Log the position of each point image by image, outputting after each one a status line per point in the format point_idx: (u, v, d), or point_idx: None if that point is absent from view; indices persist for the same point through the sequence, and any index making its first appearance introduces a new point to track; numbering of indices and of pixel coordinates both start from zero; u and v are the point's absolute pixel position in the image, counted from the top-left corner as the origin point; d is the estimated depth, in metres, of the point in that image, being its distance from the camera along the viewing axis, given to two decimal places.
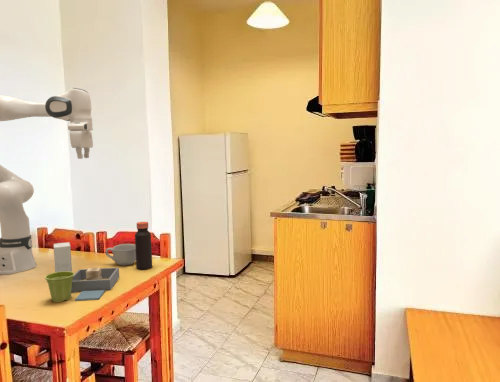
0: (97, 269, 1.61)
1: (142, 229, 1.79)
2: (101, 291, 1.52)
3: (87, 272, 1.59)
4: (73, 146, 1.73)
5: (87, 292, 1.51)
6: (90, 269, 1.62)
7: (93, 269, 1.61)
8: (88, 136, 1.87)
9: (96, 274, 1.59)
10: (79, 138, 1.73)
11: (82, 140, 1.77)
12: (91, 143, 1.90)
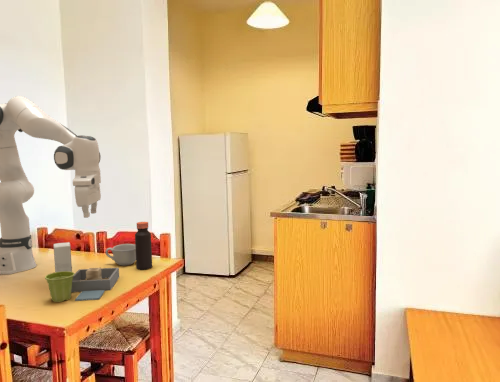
0: (97, 269, 1.61)
1: (142, 229, 1.79)
2: (101, 291, 1.52)
3: (87, 272, 1.59)
4: (79, 205, 1.49)
5: (87, 292, 1.51)
6: (90, 269, 1.62)
7: (93, 269, 1.61)
8: (95, 188, 1.62)
9: (96, 274, 1.59)
10: (86, 196, 1.49)
11: (89, 197, 1.52)
12: (99, 195, 1.66)
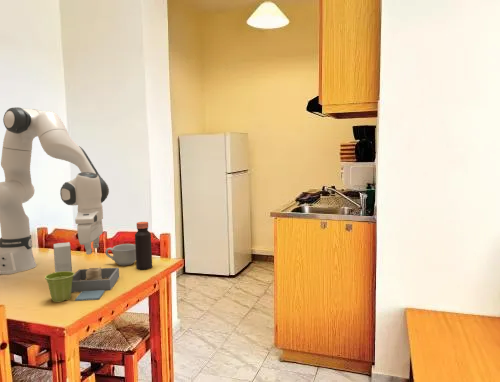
0: (97, 269, 1.61)
1: (142, 229, 1.79)
2: (101, 291, 1.52)
3: (87, 272, 1.59)
4: (82, 243, 1.50)
5: (87, 292, 1.51)
6: (90, 269, 1.62)
7: (93, 269, 1.61)
8: (98, 224, 1.64)
9: (96, 274, 1.59)
10: (88, 234, 1.50)
11: (91, 234, 1.54)
12: (101, 230, 1.67)
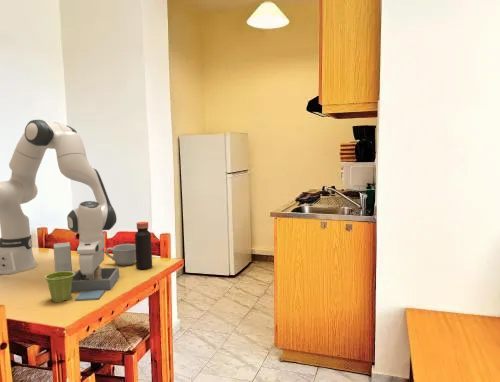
0: (97, 269, 1.61)
1: (142, 229, 1.79)
2: (101, 291, 1.52)
3: None
4: (83, 274, 1.52)
5: (87, 292, 1.51)
6: None
7: None
8: None
9: (96, 274, 1.60)
10: (90, 264, 1.51)
11: (93, 263, 1.55)
12: (102, 257, 1.69)
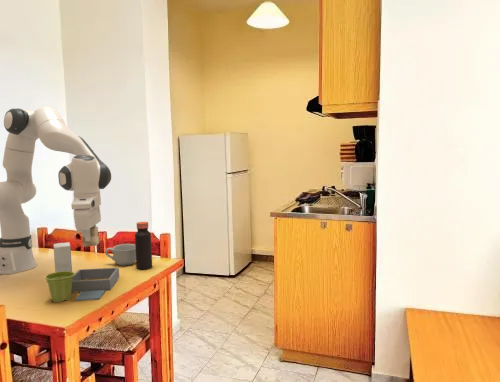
0: (94, 228, 1.50)
1: (142, 229, 1.79)
2: (101, 291, 1.52)
3: None
4: (79, 230, 1.40)
5: (87, 292, 1.51)
6: None
7: None
8: (95, 210, 1.54)
9: (93, 233, 1.48)
10: (86, 220, 1.40)
11: (89, 220, 1.44)
12: (99, 217, 1.57)
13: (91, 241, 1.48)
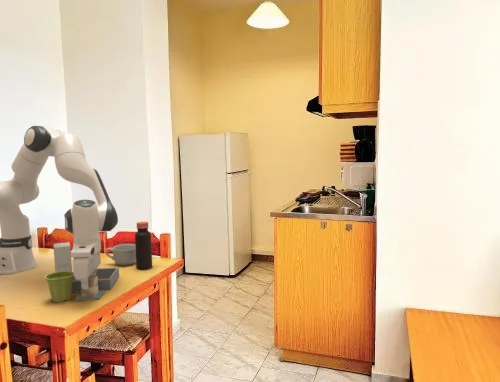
0: (93, 278, 1.49)
1: (142, 229, 1.79)
2: (101, 291, 1.52)
3: None
4: (78, 279, 1.39)
5: None
6: None
7: (89, 278, 1.49)
8: None
9: (92, 283, 1.47)
10: (85, 269, 1.39)
11: (88, 268, 1.42)
12: (99, 260, 1.56)
13: (90, 292, 1.47)
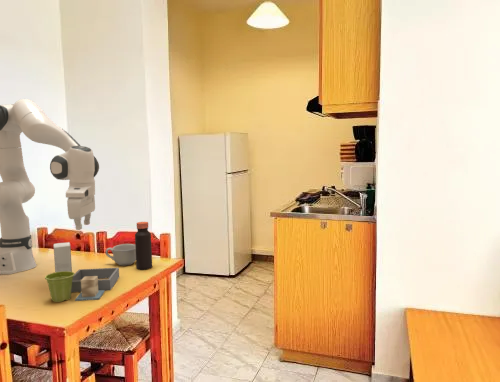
0: (93, 278, 1.49)
1: (142, 229, 1.79)
2: (101, 291, 1.52)
3: (82, 281, 1.46)
4: (71, 218, 1.46)
5: None
6: (86, 278, 1.49)
7: (89, 278, 1.49)
8: (90, 200, 1.60)
9: (92, 283, 1.47)
10: (78, 208, 1.46)
11: (82, 209, 1.50)
12: (93, 207, 1.63)
13: (90, 292, 1.47)
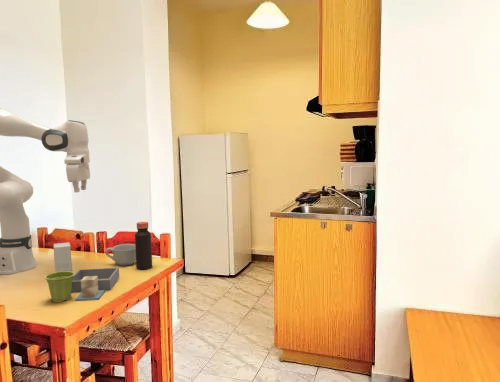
0: (93, 278, 1.49)
1: (142, 229, 1.79)
2: (101, 291, 1.52)
3: (82, 281, 1.46)
4: (70, 181, 1.70)
5: None
6: (86, 278, 1.49)
7: (89, 278, 1.49)
8: (85, 168, 1.83)
9: (92, 283, 1.47)
10: (76, 172, 1.70)
11: (79, 174, 1.73)
12: (88, 174, 1.87)
13: (90, 292, 1.47)
